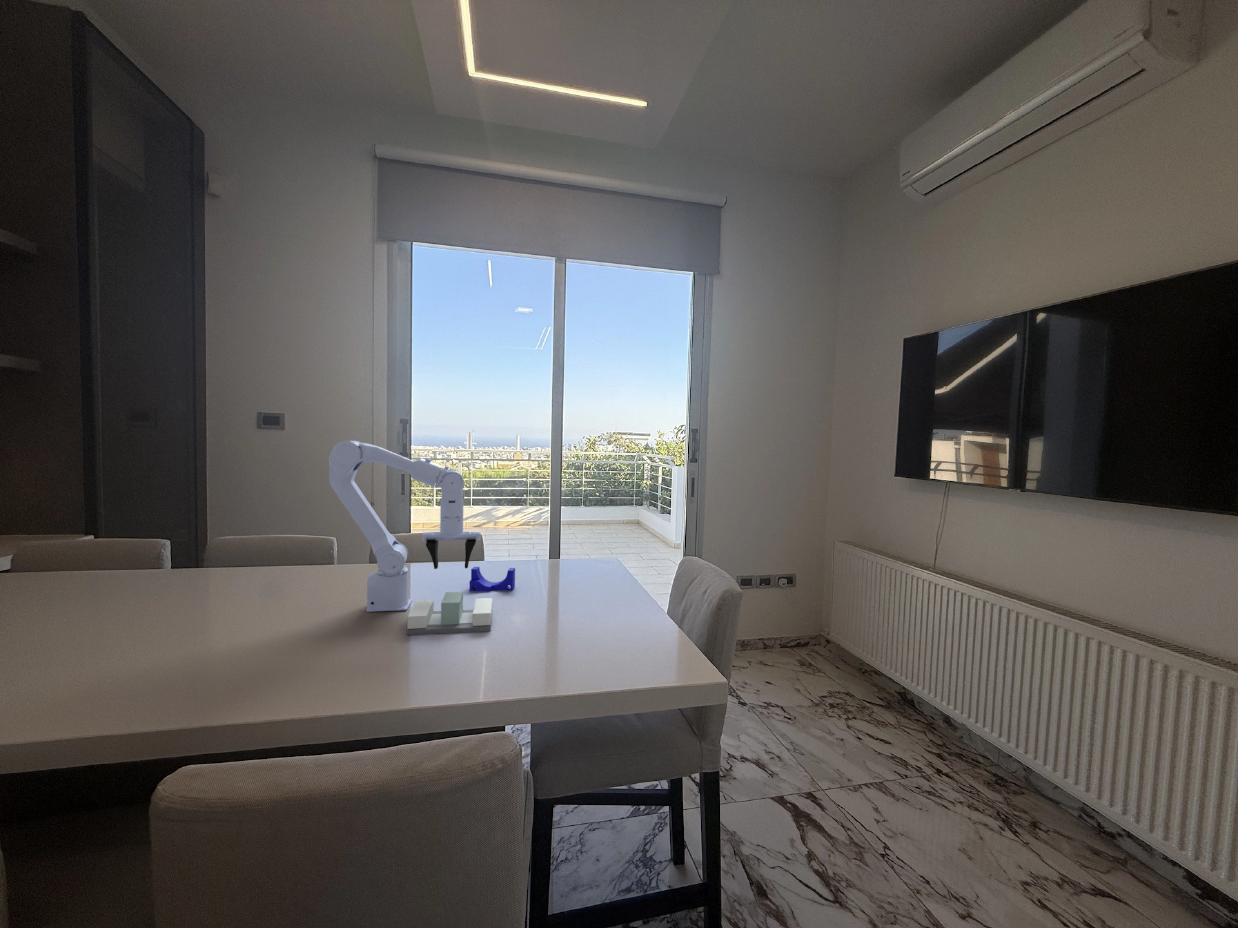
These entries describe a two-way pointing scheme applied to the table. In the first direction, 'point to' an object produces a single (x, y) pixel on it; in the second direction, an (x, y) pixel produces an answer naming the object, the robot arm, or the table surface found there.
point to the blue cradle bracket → (484, 585)
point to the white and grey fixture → (429, 622)
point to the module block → (452, 608)
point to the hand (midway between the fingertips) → (451, 567)
